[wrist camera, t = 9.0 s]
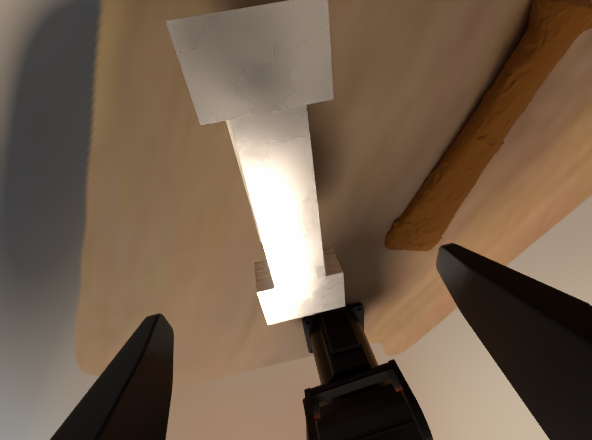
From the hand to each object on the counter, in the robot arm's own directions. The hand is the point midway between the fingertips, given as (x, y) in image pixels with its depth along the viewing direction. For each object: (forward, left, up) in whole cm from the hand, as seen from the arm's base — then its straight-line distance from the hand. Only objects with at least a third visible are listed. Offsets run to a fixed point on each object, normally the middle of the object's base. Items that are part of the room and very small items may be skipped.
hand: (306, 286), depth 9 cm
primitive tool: (-4, -15, -13) cm, 19 cm away
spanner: (0, 0, -7) cm, 7 cm away
